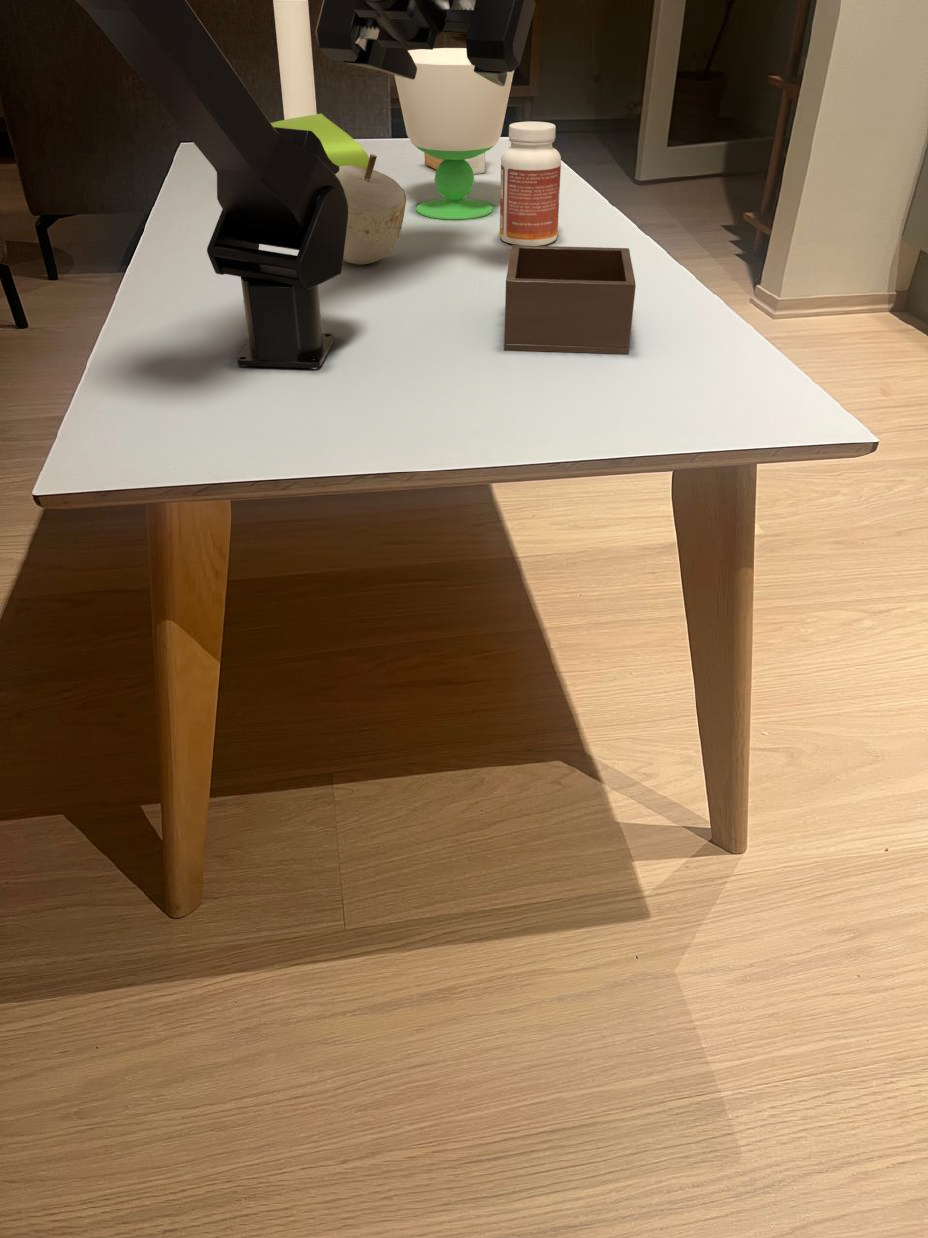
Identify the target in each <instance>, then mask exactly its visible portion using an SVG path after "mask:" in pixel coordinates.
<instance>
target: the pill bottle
mask: <svg viewBox="0 0 928 1238" xmlns="http://www.w3.org/2000/svg"><path fill="white" fill-rule="evenodd" d="M556 129H557V127H556V125H555V124H554V123H551V122H546V121H519V122H513V123H510V124H509V126H508V142H510V146H509V147H507V148H506V149H505V150H504V151H503V153H502V154H501V157H500V193H499V195H500V196H499V197H500V199H499V205H500V206H499V237H500V239H501V240H502V241H503V242H505V243H507V244H511V245H523V246H546V245H548V244H551V243H553V242H554V241H555V240H556V239H557V238H558V231H559V213H560V189H561V172H562V157H561V153H560V152H559V150H557V149H556V148H555V147H553V143H554V142H555V141H556Z"/></svg>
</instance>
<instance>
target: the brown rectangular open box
mask: <svg viewBox="0 0 928 1238" xmlns="http://www.w3.org/2000/svg"><path fill="white" fill-rule="evenodd" d="M631 257H632V256H631V251H630V248H629V247H601V246H600V247H597V246H596V247H595V246H594V247H593V246H559V245H558V246H557V245H556V246H555V245H554V246H553V245H539V246H523V245H515V244H511V247H510V253H509V259H508V265H507V271H506V277H505V278H506V280H505V295H504V296H505V299H504V300H505V301H504V336H503V337H504V338H503V339H504V340H503V350H504V351H524V352H525V351H527V352H528V351H530V352H551V353H552V352H554V353H555V352H556V353H557V352H558V353H582V354H583V353H587V354H614V355H616V354H617V355H629V354H630V346H631V345H630V344H631V336H632V335H631V334H632V326H633V325H632V324H633V316H634V307H635V295H636V287H637V286H636V284H637V283H636V279H635V272H634V269H633V268H634V267H633V262H632V258H631Z"/></svg>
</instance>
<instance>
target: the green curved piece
mask: <svg viewBox="0 0 928 1238" xmlns="http://www.w3.org/2000/svg"><path fill="white" fill-rule="evenodd" d="M270 123H271V125H272V126H273V127H280V128H289V129H299V130H309V131H312V132H313V133H314V134H315V135H316V136H317V137H318V138H319V139H320V141H321V143H322V145H323V148H324V150H325V152H326V154H327V156H328V158H329V159H330V160H331V161H332V162H333V163H334V164H336V165H337V166H339V167H340V166H349V165H352V166H360V167H365V168H367V165H368V162H369V158H370V156H369V155H368V153H367V152H366V150H365V148H363V147H362V146H361V145H360V144H359V142H357V140H355V139H354V137H352V136H350V134H348V133H347V132H345V130H344V129H342V128H340V127H339V126H338V125H337V124H335V123H334V122H333V121H332V120H330V119H329V118H327V117H326V116H325V115H324V114H323V113H317V114H315V115H309V116H303V117H297V118H292V119H287V120H284V119H281V120H278V121H273V122H270Z"/></svg>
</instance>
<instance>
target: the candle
mask: <svg viewBox="0 0 928 1238" xmlns="http://www.w3.org/2000/svg"><path fill="white" fill-rule="evenodd" d="M272 4H273V12H274V24H275V34H276V35H275V36H276V45H277V53H278V54H277V56H278V65H279V74H280V75H279V76H280V86H281V98H282V107H283V108H282V109H283V118H284V119H283V120H287V119H292V118H297V117H303V116H309V115H315V114H318V112H317V100H316V86H315V73H314V61H313V48H312V35H311V21H310V10H309V0H272Z"/></svg>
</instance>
